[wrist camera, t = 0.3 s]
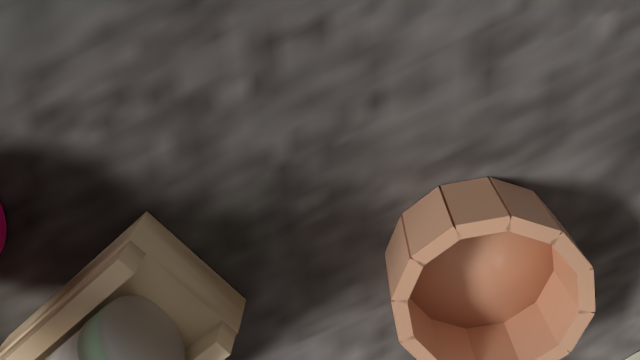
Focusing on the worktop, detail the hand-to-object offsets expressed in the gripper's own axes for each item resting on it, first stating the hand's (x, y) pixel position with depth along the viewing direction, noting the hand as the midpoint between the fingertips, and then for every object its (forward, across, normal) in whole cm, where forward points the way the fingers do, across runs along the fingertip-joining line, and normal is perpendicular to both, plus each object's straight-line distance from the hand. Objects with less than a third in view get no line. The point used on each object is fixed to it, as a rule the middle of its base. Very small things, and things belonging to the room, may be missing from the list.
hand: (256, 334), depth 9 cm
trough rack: (+12, +6, +16) cm, 21 cm away
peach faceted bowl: (+13, -9, +9) cm, 18 cm away
